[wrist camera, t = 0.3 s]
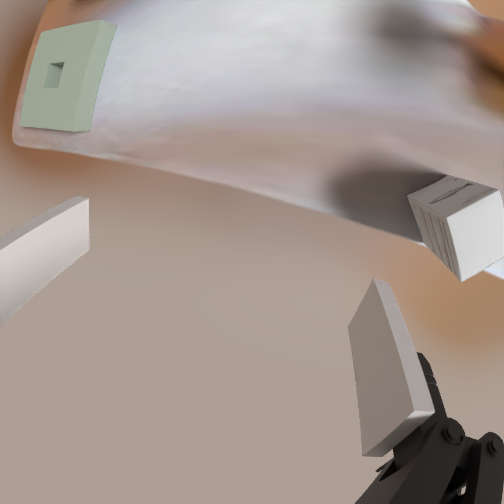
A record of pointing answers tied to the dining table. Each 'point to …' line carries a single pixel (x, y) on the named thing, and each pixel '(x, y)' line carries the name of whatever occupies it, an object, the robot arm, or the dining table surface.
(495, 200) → the supplement box
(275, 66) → the dining table surface
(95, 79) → the sage board
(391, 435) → the robot arm
